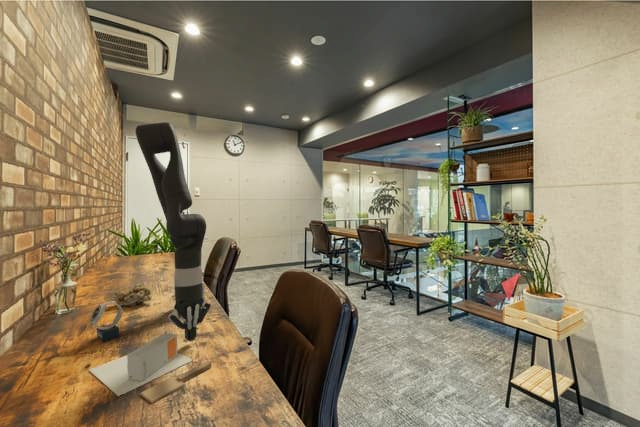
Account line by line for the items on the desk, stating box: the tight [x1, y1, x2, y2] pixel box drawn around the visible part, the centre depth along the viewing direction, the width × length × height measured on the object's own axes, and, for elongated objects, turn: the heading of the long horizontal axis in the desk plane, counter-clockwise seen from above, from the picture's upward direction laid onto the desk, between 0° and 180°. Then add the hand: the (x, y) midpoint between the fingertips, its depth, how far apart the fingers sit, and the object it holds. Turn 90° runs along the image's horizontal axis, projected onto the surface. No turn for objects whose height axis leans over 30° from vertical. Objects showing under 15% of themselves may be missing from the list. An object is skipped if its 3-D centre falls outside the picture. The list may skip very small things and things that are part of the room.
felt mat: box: [88, 351, 193, 397], centre depth 74 cm, size 17×18×1 cm
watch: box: [90, 301, 124, 343], centre depth 90 cm, size 6×8×11 cm
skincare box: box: [127, 333, 178, 381], centre depth 73 cm, size 6×4×12 cm
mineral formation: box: [113, 283, 153, 307], centre depth 122 cm, size 8×13×15 cm
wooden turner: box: [140, 360, 212, 404], centre depth 67 cm, size 15×5×1 cm, turn 145°
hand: (190, 339), depth 85 cm, fingers closed
